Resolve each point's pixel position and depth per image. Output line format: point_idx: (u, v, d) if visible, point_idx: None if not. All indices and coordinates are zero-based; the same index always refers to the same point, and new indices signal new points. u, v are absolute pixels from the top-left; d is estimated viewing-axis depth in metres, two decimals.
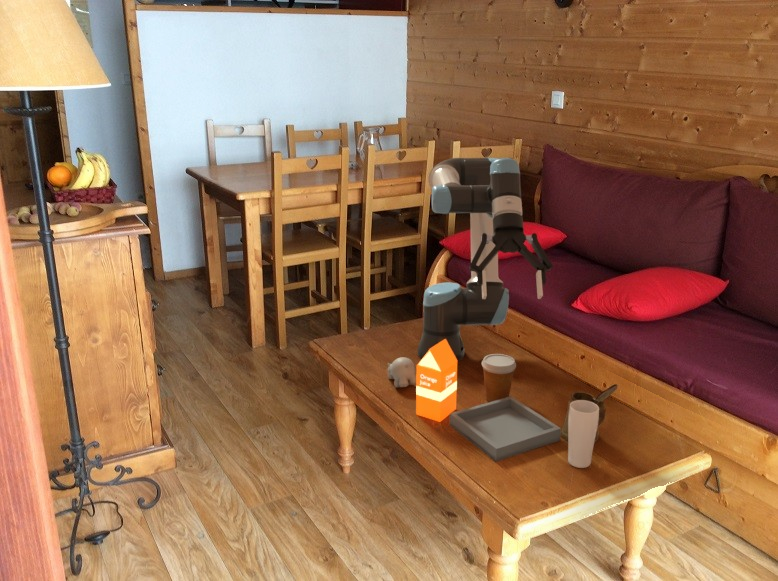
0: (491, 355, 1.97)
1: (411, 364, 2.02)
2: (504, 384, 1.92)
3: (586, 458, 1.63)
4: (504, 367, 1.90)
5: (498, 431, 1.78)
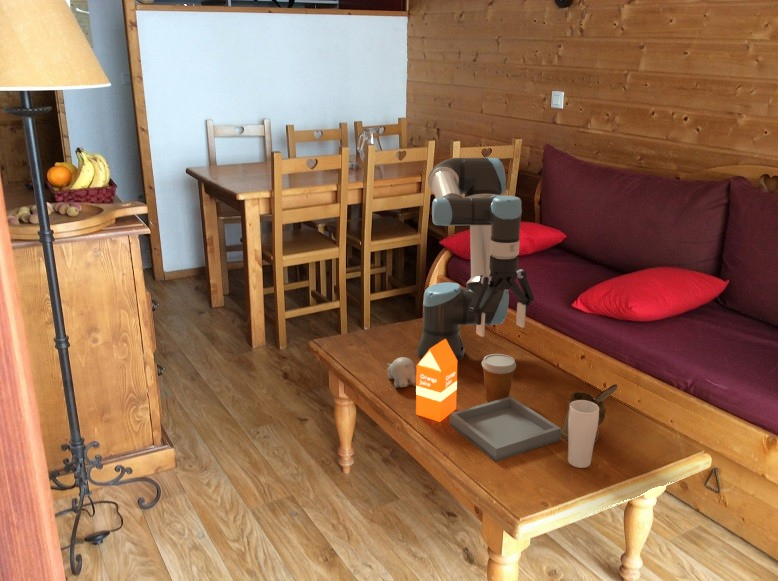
0: (491, 355, 1.97)
1: (411, 364, 2.02)
2: (504, 384, 1.92)
3: (586, 458, 1.63)
4: (504, 367, 1.90)
5: (498, 431, 1.78)
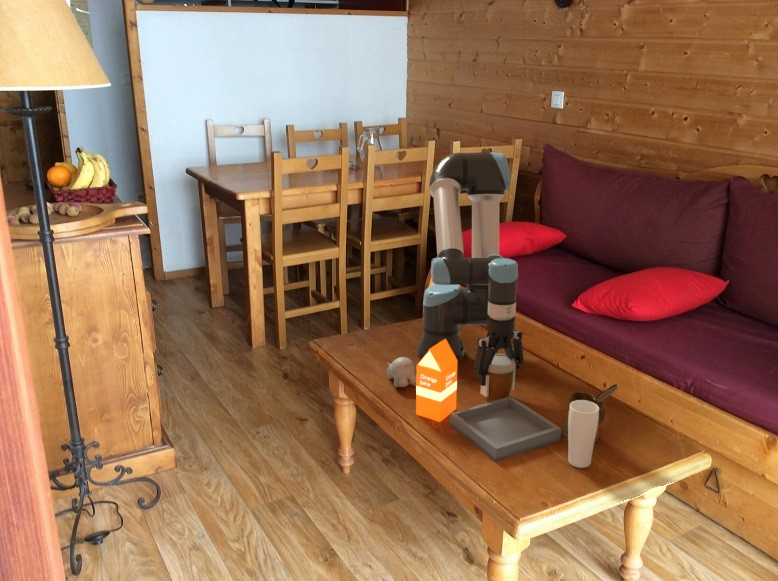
0: None
1: (411, 364, 2.02)
2: (504, 384, 1.92)
3: (586, 458, 1.63)
4: (504, 367, 1.90)
5: (498, 431, 1.78)
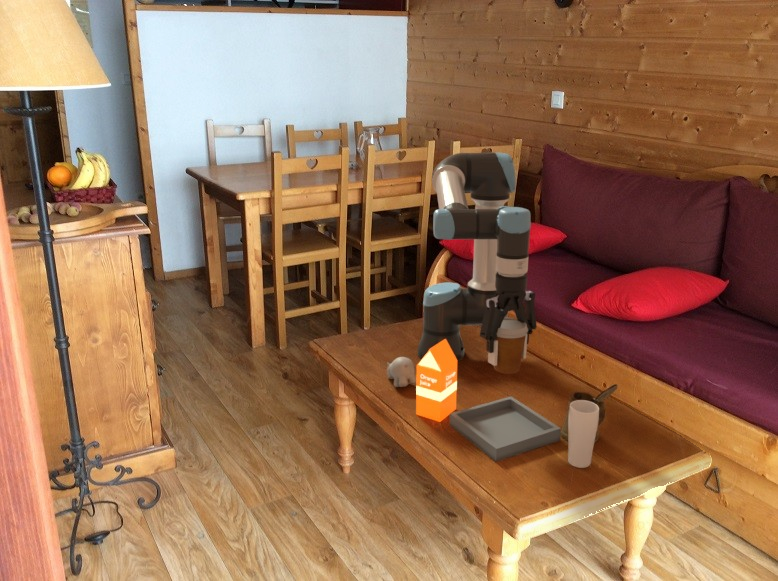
0: None
1: (411, 364, 2.03)
2: (514, 350, 1.70)
3: (586, 458, 1.63)
4: (515, 331, 1.67)
5: (498, 431, 1.78)
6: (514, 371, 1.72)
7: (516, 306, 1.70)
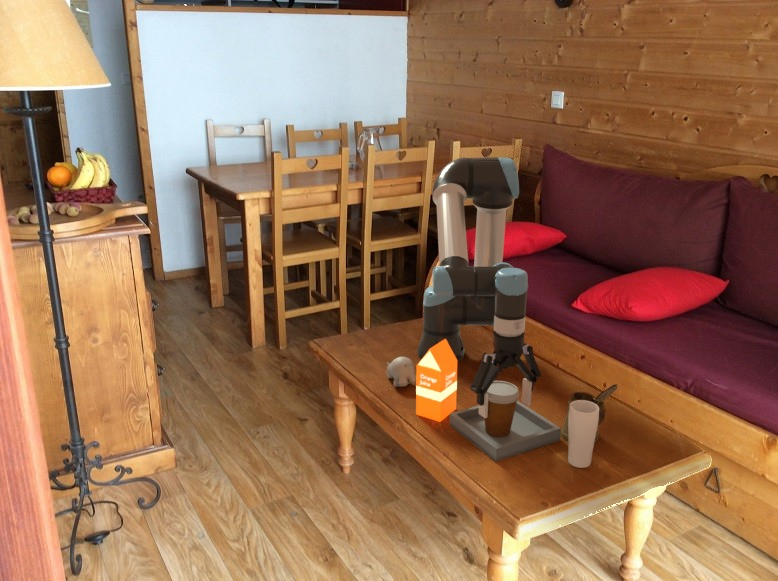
0: None
1: (410, 363, 2.03)
2: (506, 415, 1.73)
3: (586, 458, 1.63)
4: (507, 397, 1.71)
5: None
6: (505, 434, 1.76)
7: (515, 363, 1.73)
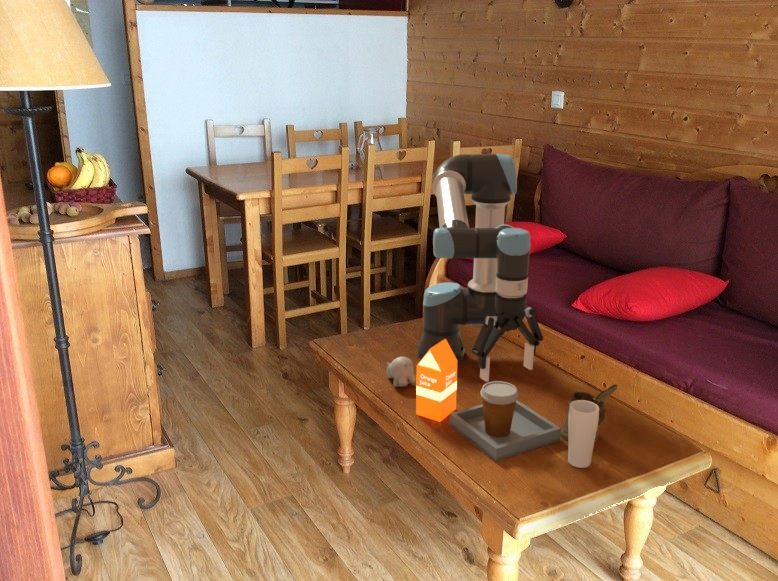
0: (491, 383, 1.78)
1: (410, 363, 2.03)
2: (505, 415, 1.73)
3: (586, 458, 1.63)
4: (505, 397, 1.71)
5: None
6: (505, 435, 1.76)
7: (517, 325, 1.70)
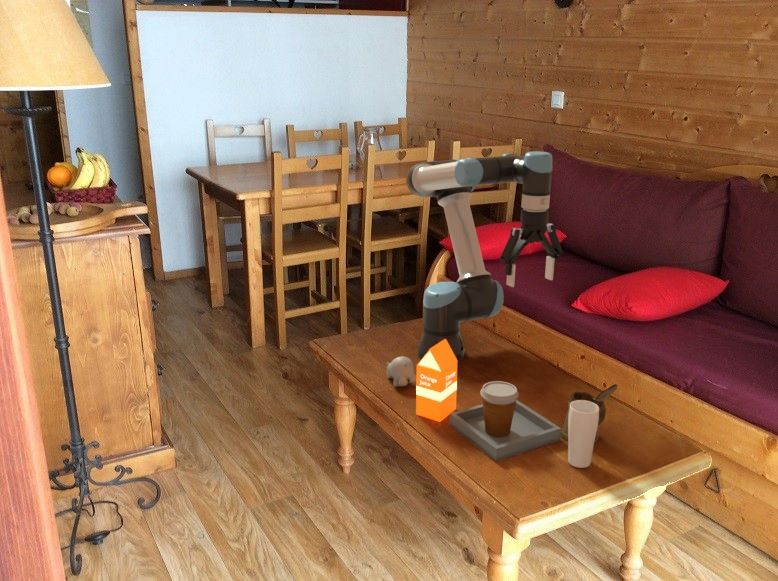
0: (491, 383, 1.78)
1: (410, 363, 2.03)
2: (505, 415, 1.73)
3: (586, 458, 1.63)
4: (505, 397, 1.71)
5: None
6: (505, 435, 1.76)
7: (540, 238, 1.95)
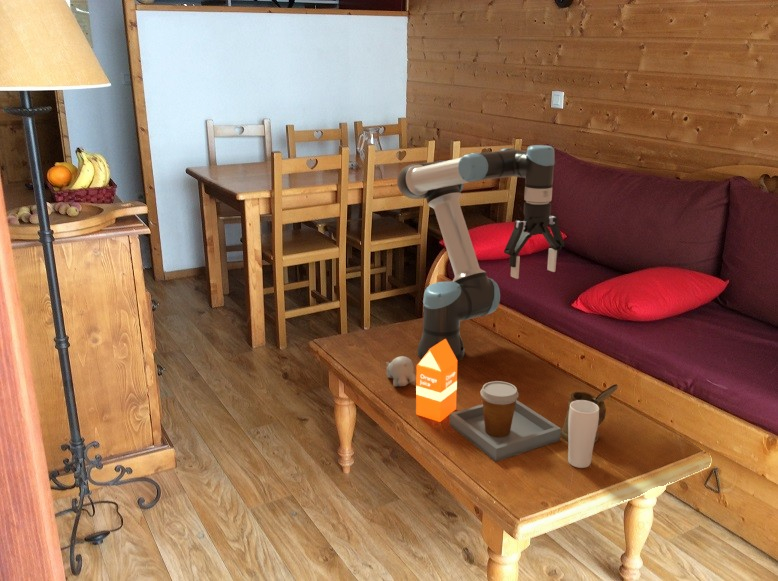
0: (491, 383, 1.78)
1: (410, 363, 2.03)
2: (505, 415, 1.73)
3: (586, 458, 1.63)
4: (505, 397, 1.71)
5: None
6: (505, 435, 1.76)
7: (543, 230, 1.99)
